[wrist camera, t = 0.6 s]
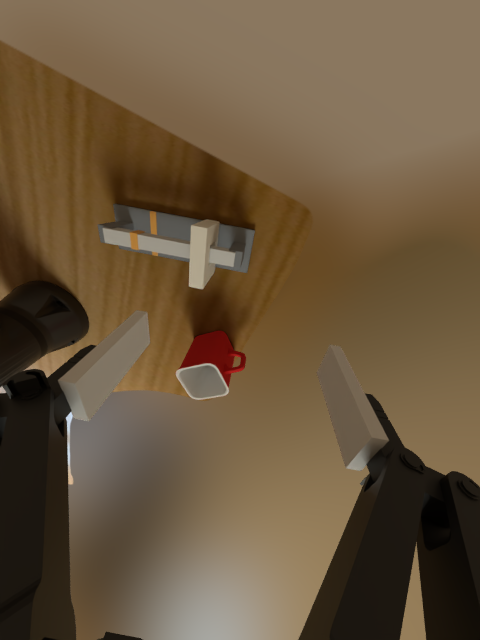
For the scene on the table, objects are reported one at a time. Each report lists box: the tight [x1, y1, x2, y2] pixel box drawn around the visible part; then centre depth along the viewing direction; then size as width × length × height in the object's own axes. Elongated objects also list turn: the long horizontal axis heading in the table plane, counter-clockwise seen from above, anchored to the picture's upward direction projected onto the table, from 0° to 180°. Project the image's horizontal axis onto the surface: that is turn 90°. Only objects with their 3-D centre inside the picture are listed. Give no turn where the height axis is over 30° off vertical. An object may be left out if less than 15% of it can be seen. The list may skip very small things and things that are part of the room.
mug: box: [176, 331, 246, 400], centre depth 42 cm, size 12×8×11 cm
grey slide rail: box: [98, 204, 255, 273], centre depth 33 cm, size 23×7×7 cm, turn 81°
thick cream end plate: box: [189, 219, 220, 289], centre depth 31 cm, size 2×8×8 cm, turn 171°
